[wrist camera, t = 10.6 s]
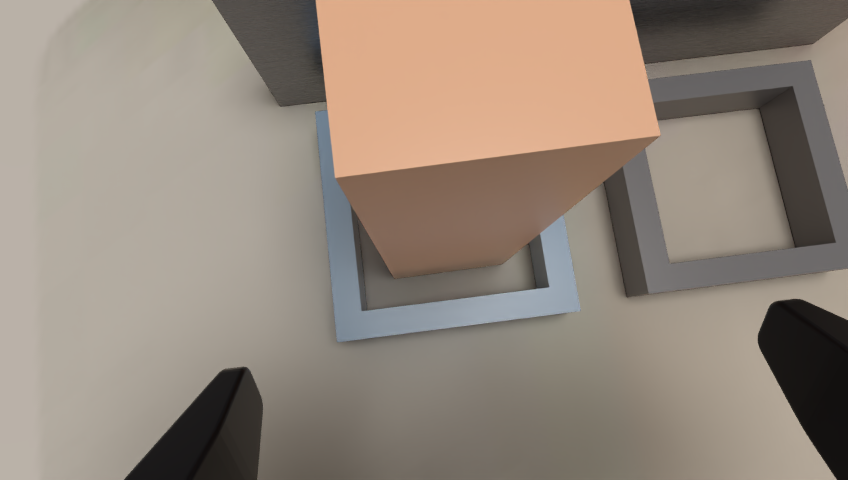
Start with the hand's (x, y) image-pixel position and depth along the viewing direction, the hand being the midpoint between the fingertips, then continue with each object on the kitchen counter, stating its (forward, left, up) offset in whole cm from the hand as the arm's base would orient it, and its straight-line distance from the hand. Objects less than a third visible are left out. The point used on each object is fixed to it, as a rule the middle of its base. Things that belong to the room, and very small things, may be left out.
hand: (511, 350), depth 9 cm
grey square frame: (+11, -4, -12) cm, 17 cm away
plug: (+3, +4, -12) cm, 13 cm away
